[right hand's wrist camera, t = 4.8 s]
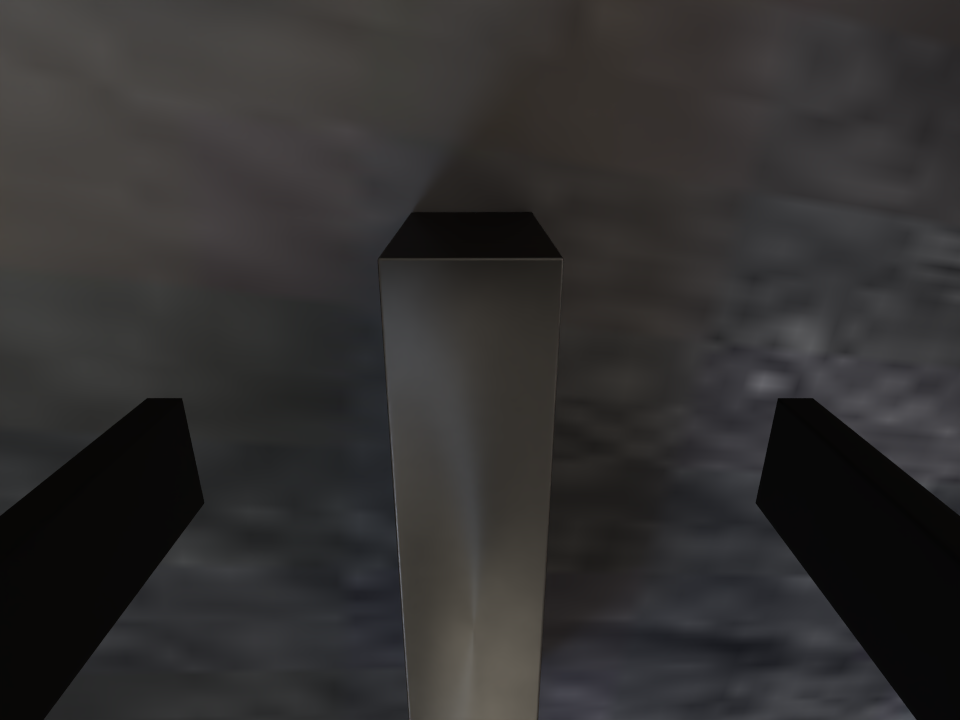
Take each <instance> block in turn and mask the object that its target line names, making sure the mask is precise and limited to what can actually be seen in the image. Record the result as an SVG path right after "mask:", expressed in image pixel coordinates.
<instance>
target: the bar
mask: <svg viewBox="0 0 960 720" xmlns="http://www.w3.org/2000/svg"><path fill="white" fill-rule="evenodd" d="M563 263H564V259H563V257H562V256H561V254H560V253H559V251H558V250H557V248H556V247H555V246H554V244H553V243H552V241H551V240H550V238H549V237H548V235H547V234H546V232H545V231H544V229H543V228H542V226H541V225H540V224H539V222H538V221H537V219H536V218H535V216H534V215H533V213H532V212H412V213H411V214H410V215H409V217H408V218H407V220H406V221H405V222H404V224H403V225H402V226H401V228H400V229H399V231H398V232H397V233H396V235H395V236H394V237H393V239H392V240H391V242H390V243H389V244H388V246H387V247H386V248H385V250H384V251H383V253H382V254H381V255H380V257H379V258H378V273H379V287H380V302H381V317H382V332H383V346H384V361H385V376H386V390H387V405H388V420H389V435H390V449H391V464H392V479H393V493H394V508H395V523H396V538H397V552H398V567H399V582H400V596H401V611H402V626H403V641H404V655H405V670H406V685H407V699H408V714H409V720H538V712H539V694H540V676H541V658H542V640H543V622H544V604H545V586H546V568H547V550H548V533H549V515H550V497H551V479H552V461H553V443H554V425H555V407H556V389H557V371H558V353H559V335H560V317H561V299H562V281H563Z"/></svg>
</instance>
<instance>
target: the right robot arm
mask: <svg viewBox="0 0 960 720" xmlns="http://www.w3.org/2000/svg"><path fill="white" fill-rule="evenodd" d="M203 504H204V499H203V494H202V490H201V485H200V480H199V476H198V471H197V466H196V462H195V457H194V452H193V448H192V443H191V438H190V433H189V429H188V424H187V419H186V415H185V410H184V405H183V401H182V398H147V399H146V400H144V401H143V402H142V403H141V404H139V405H138V406H137V407H136V408H134V409H133V410H132V411H131V412H130V413H128V414H127V415H126V416H125V417H123V418H122V419H121V420H120V421H118V422H117V423H116V424H115V425H113V426H112V427H111V428H110V429H108V430H107V431H106V432H105V433H103V434H102V435H101V436H100V437H98V438H97V439H96V440H95V441H93V442H92V443H91V444H90V445H88V446H87V447H86V448H85V449H83V450H82V451H81V452H80V453H78V454H77V455H76V456H75V457H73V458H72V459H71V460H70V461H68V462H67V463H66V464H65V465H63V466H62V467H61V468H60V469H58V470H57V471H56V472H55V473H53V474H52V475H51V476H50V477H48V478H47V479H46V480H45V481H43V482H42V483H41V484H40V485H38V486H37V487H36V488H35V489H33V490H32V491H31V492H30V493H28V494H27V495H26V496H25V497H23V498H22V499H21V500H20V501H18V502H17V503H16V504H15V505H13V506H12V507H11V508H10V509H8V510H7V511H6V512H5V513H3V514H2V515H1V516H0V720H44V718H45V717H46V716H47V714H48V713H49V712H50V710H51V709H52V708H53V706H54V705H55V703H56V702H57V701H58V699H59V698H60V697H61V695H62V694H63V693H64V691H65V690H66V689H67V687H68V686H69V685H70V683H71V682H72V681H73V679H74V678H75V677H76V675H77V674H78V672H79V671H80V670H81V668H82V667H83V666H84V664H85V663H86V662H87V660H88V659H89V658H90V656H91V655H92V654H93V652H94V651H95V650H96V648H97V647H98V646H99V644H100V643H101V642H102V640H103V639H104V637H105V636H106V635H107V633H108V632H109V631H110V629H111V628H112V627H113V625H114V624H115V623H116V621H117V620H118V619H119V617H120V616H121V615H122V613H123V612H124V611H125V609H126V608H127V607H128V605H129V604H130V602H131V601H132V600H133V598H134V597H135V596H136V594H137V593H138V592H139V590H140V589H141V588H142V586H143V585H144V584H145V582H146V581H147V580H148V578H149V577H150V576H151V574H152V573H153V571H154V570H155V569H156V567H157V566H158V565H159V563H160V562H161V561H162V559H163V558H164V557H165V555H166V554H167V553H168V551H169V550H170V549H171V547H172V546H173V545H174V543H175V542H176V541H177V539H178V538H179V536H180V535H181V534H182V532H183V531H184V530H185V528H186V527H187V526H188V524H189V523H190V522H191V520H192V519H193V518H194V516H195V515H196V514H197V512H198V511H199V510H200V508H201V507H202V505H203ZM756 504H757V505H758V507H759V508H760V510H761V511H762V512H763V514H764V515H765V516H766V518H767V519H768V520H769V522H770V523H771V524H772V526H773V527H774V528H775V530H776V531H777V532H778V534H779V535H780V536H781V538H782V539H783V541H784V542H785V543H786V545H787V546H788V547H789V549H790V550H791V551H792V553H793V554H794V555H795V557H796V558H797V559H798V561H799V562H800V563H801V565H802V566H803V567H804V569H805V570H806V571H807V573H808V574H809V576H810V577H811V578H812V580H813V581H814V582H815V584H816V585H817V586H818V588H819V589H820V590H821V592H822V593H823V594H824V596H825V597H826V598H827V600H828V601H829V602H830V604H831V605H832V607H833V608H834V609H835V611H836V612H837V613H838V615H839V616H840V617H841V619H842V620H843V621H844V623H845V624H846V625H847V627H848V628H849V629H850V631H851V632H852V633H853V635H854V636H855V637H856V639H857V640H858V642H859V643H860V644H861V646H862V647H863V648H864V650H865V651H866V652H867V654H868V655H869V656H870V658H871V659H872V660H873V662H874V663H875V664H876V666H877V667H878V668H879V670H880V671H881V672H882V674H883V675H884V677H885V678H886V679H887V681H888V682H889V683H890V685H891V686H892V687H893V689H894V690H895V691H896V693H897V694H898V695H899V697H900V698H901V699H902V701H903V702H904V703H905V705H906V706H907V708H908V709H909V710H910V712H911V713H912V714H913V716H914V717H915V718H916V720H960V516H959V515H958V514H957V513H955V512H954V511H953V510H952V509H950V508H949V507H948V506H947V505H945V504H944V503H943V502H942V501H940V500H939V499H938V498H937V497H935V496H934V495H933V494H932V493H930V492H929V491H928V490H927V489H925V488H924V487H923V486H922V485H920V484H919V483H918V482H917V481H915V480H914V479H913V478H912V477H910V476H909V475H908V474H907V473H905V472H904V471H903V470H902V469H900V468H899V467H898V466H897V465H895V464H894V463H893V462H892V461H890V460H889V459H888V458H887V457H885V456H884V455H883V454H882V453H880V452H879V451H878V450H877V449H875V448H874V447H873V446H872V445H870V444H869V443H868V442H867V441H865V440H864V439H863V438H862V437H860V436H859V435H858V434H857V433H855V432H854V431H853V430H852V429H850V428H849V427H848V426H847V425H845V424H844V423H843V422H842V421H840V420H839V419H838V418H837V417H835V416H834V415H833V414H832V413H830V412H829V411H828V410H827V409H826V408H824V407H823V406H822V405H821V404H819V403H818V402H817V401H816V400H814V399H813V398H778V401H777V405H776V410H775V415H774V419H773V424H772V429H771V433H770V438H769V443H768V448H767V452H766V457H765V462H764V466H763V471H762V476H761V480H760V485H759V490H758V494H757V499H756Z"/></svg>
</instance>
